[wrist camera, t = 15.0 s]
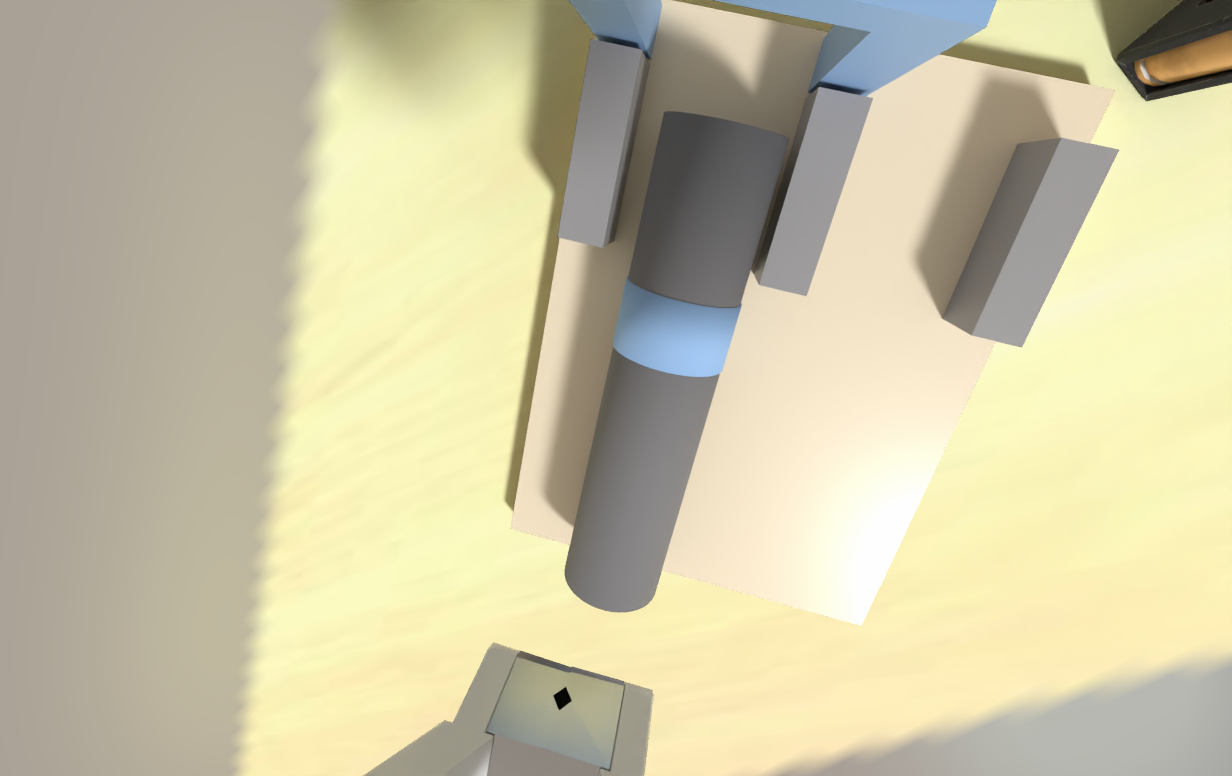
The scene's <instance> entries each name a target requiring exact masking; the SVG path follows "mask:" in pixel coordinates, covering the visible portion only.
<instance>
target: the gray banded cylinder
mask: <svg viewBox="0 0 1232 776" xmlns="http://www.w3.org/2000/svg"><path fill="white" fill-rule="evenodd" d="M788 142H789V139H788V138H787V137H785V136H783V135H780V134H778V133H775V132H772V131H768V130H765V129H762V128H758V127H754V126H751V125H747V124H743V123H738V122H734V121H730V120H725V119H720V118H715V117H710V116H704V115H699V114H692V113H685V112H675V111H666V112H664V115H663V119H662V124H661V128H660V133H659V138H658V142H657V147H656V151H655V156H654V161H653V165H652V170H651V174H650V179H649V184H648V188H647V193H646V198H645V202H644V207H643V211H642V216H641V221H640V225H639V230H638V234H637V239H636V244H635V248H634V253H633V257H632V262H631V267H630V271H629V276H627V278H626V283H625V287H624V292H623V297H622V301H621V306H620V311H619V315H618V320H617V324H616V329H615V334H614V338H613V349H612V354H611V359H610V363H609V368H608V372H607V377H606V382H605V386H604V391H603V395H602V400H601V405H600V409H599V414H598V418H597V423H596V428H595V432H594V437H593V441H592V446H591V451H590V455H589V460H588V465H587V469H586V474H585V478H584V483H583V488H582V492H581V497H580V501H579V506H578V511H577V515H576V520H575V524H574V529H573V534H572V538H571V543H570V547H569V552H568V557H567V561H566V566H565V578H566V581H567V584H568V586H569V587H570V589H571V590H572V591H573V593H574V594H575V595H576V596H577V597H579V598H580V599H581V600H583V601H584V602H586V603H587V604H589V605H591V606H593V607H596V608H599V609H602V610H605V611H611V612H630V611H635V610H638V609H640V608H642V607H644V606H646V605H647V604H648V603H649V602H650V601H651V600H652V598H653V597H654V595H655V592H656V588H657V585H658V581H659V578H660V575H661V571H662V568H663V565H664V561H665V558H666V554H667V551H668V548H669V544H670V541H671V538H672V534H673V531H674V527H675V524H676V521H677V517H678V514H679V510H680V507H681V504H682V500H683V497H684V494H685V490H686V487H687V483H688V480H689V477H690V473H691V470H692V467H693V463H694V460H695V456H696V453H697V450H698V446H699V443H700V440H701V436H702V433H703V429H704V426H705V423H706V419H707V416H708V412H709V409H710V406H711V402H712V399H713V396H714V392H715V389H716V385H717V382H718V379H719V375H720V373H721V372H722V370H723V367H724V363H725V360H726V357H727V353H728V350H729V347H730V343H731V340H732V336H733V333H734V330H735V326H736V323H737V320H738V316H739V313H740V310H741V306H742V303H741V301H742V298H743V294H744V291H745V287H746V284H747V281H748V277H749V274H750V271H751V267H752V264H753V260H754V257H755V254H756V250H757V247H758V243H759V240H760V237H761V233H762V230H763V227H764V223H765V220H766V216H767V213H768V210H769V206H770V203H771V200H772V196H773V193H774V189H775V186H776V183H777V179H778V176H779V173H780V169H781V166H782V162H783V159H784V156H785V152H786V149H787V145H788Z"/></svg>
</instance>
